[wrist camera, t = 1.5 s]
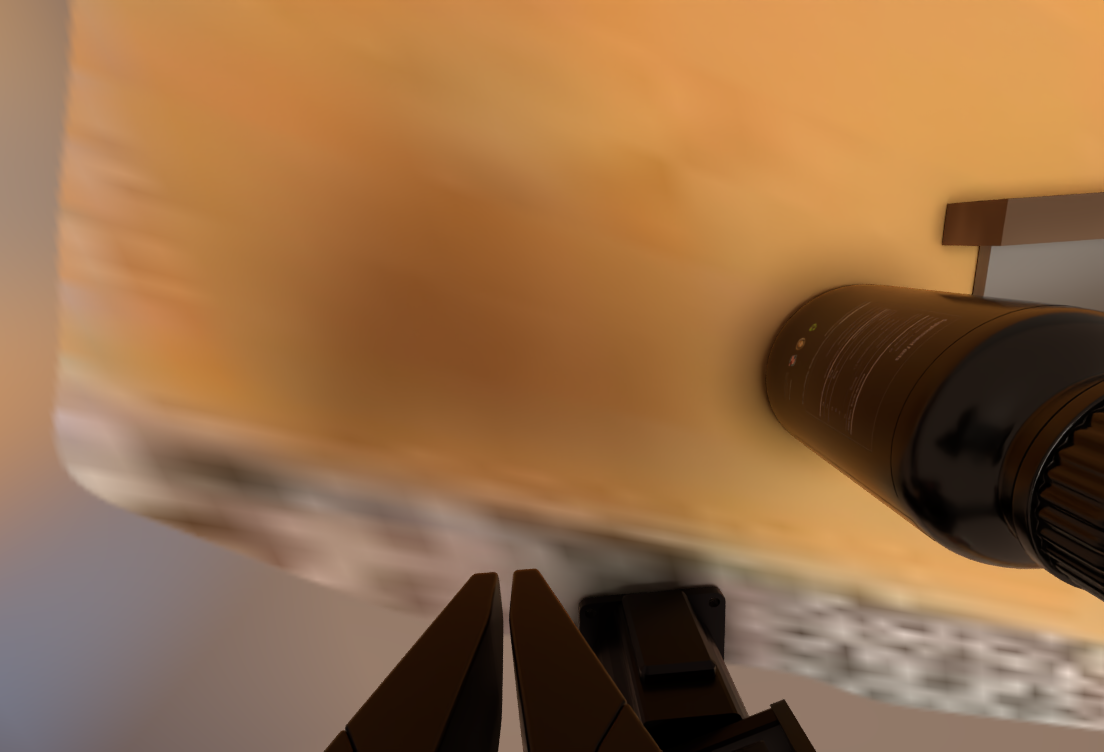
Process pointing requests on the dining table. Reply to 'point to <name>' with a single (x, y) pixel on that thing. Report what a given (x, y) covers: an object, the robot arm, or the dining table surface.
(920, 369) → the supplement bottle
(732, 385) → the dining table surface
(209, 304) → the dining table surface
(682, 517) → the dining table surface
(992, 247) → the cradle
